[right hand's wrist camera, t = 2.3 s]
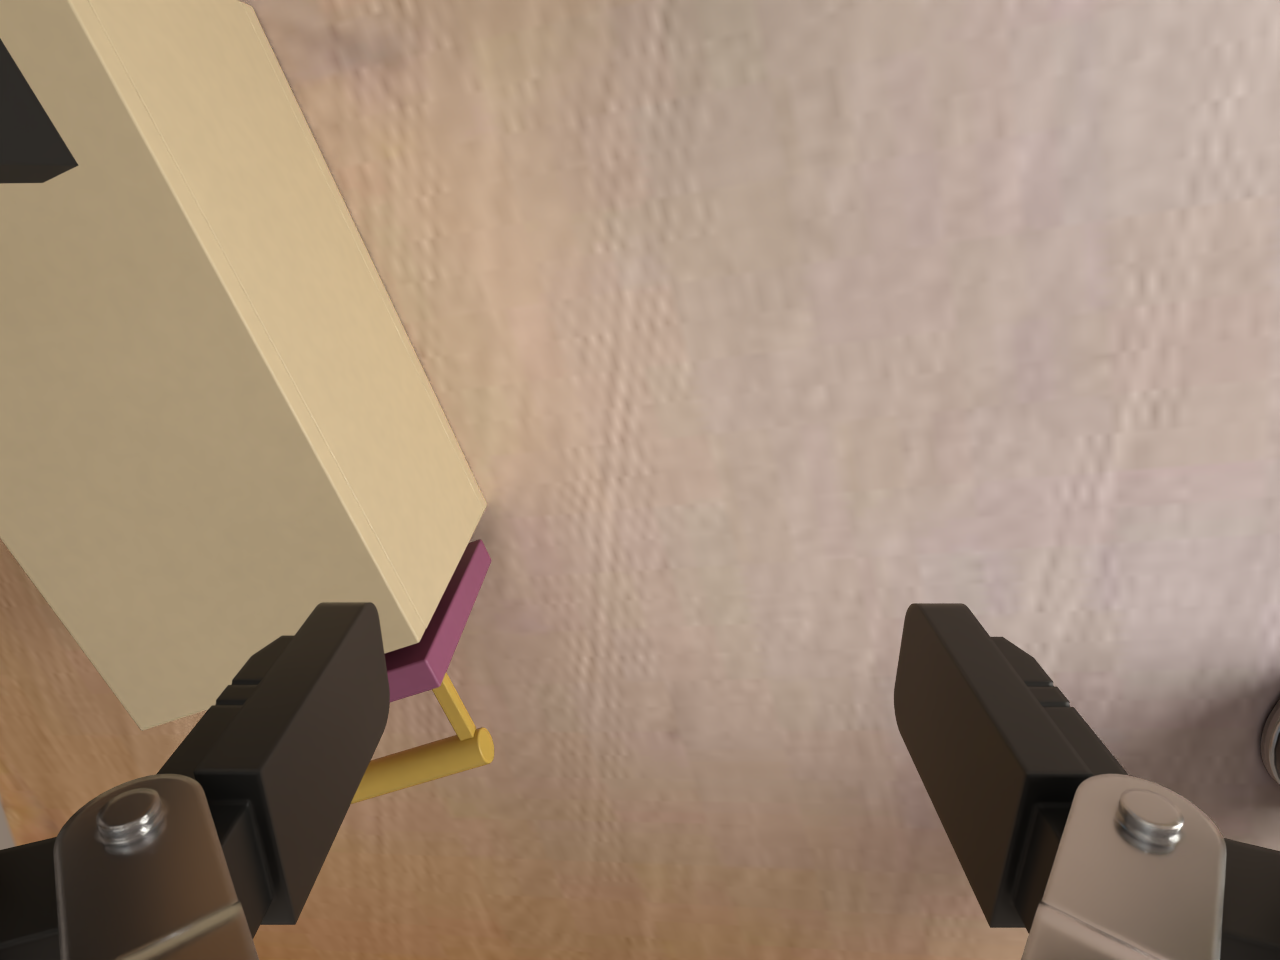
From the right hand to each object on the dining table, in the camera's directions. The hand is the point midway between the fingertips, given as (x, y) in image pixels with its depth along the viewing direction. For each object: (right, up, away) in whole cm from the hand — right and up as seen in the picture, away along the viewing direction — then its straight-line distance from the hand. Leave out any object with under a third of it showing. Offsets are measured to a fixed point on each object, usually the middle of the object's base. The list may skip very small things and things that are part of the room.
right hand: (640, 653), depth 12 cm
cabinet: (-15, +9, +20) cm, 27 cm away
